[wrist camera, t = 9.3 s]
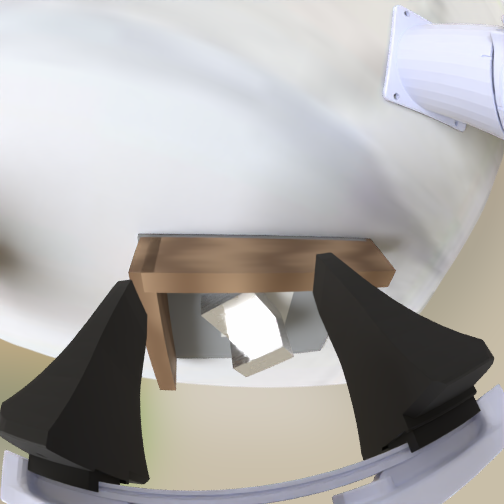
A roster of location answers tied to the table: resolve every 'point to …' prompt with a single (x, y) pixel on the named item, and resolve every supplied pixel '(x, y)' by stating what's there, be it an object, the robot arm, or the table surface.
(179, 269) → the corner walls
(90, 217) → the table surface
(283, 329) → the aluminium bracket
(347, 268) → the robot arm
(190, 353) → the mat
